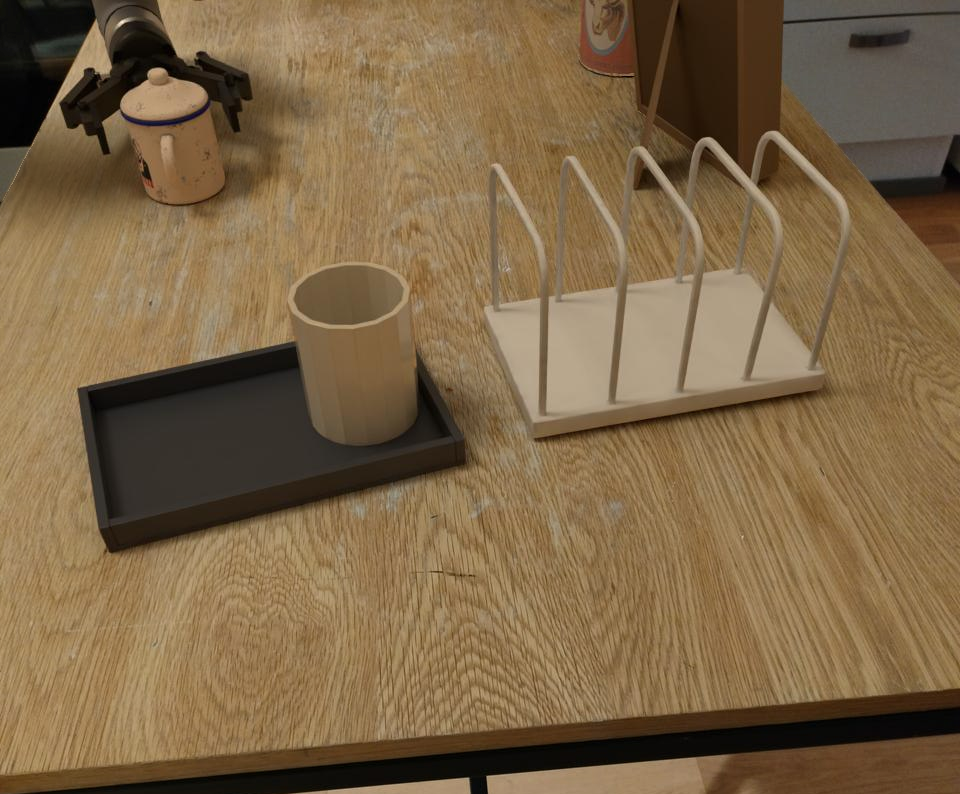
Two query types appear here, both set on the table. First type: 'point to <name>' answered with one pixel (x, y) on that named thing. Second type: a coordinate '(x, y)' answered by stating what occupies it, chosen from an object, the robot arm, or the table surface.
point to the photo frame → (710, 75)
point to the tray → (235, 446)
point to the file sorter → (653, 318)
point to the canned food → (606, 36)
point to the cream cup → (356, 351)
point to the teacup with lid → (173, 139)
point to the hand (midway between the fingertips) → (169, 130)
